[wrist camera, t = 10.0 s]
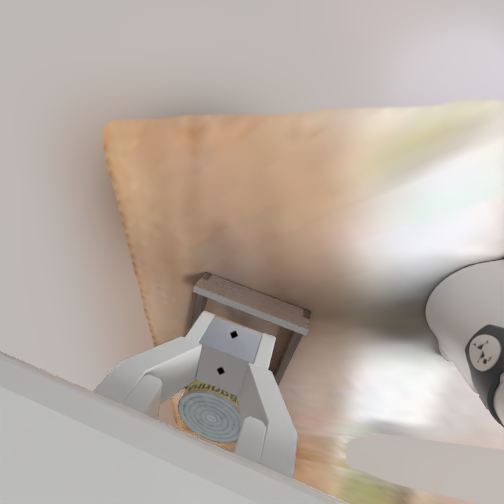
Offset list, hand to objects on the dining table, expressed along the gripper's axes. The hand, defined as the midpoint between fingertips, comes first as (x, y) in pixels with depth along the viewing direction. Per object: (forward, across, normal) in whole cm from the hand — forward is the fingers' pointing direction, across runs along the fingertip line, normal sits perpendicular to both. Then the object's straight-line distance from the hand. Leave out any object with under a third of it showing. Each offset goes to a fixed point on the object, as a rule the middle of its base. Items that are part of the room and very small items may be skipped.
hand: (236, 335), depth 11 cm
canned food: (+29, +2, +35) cm, 45 cm away
